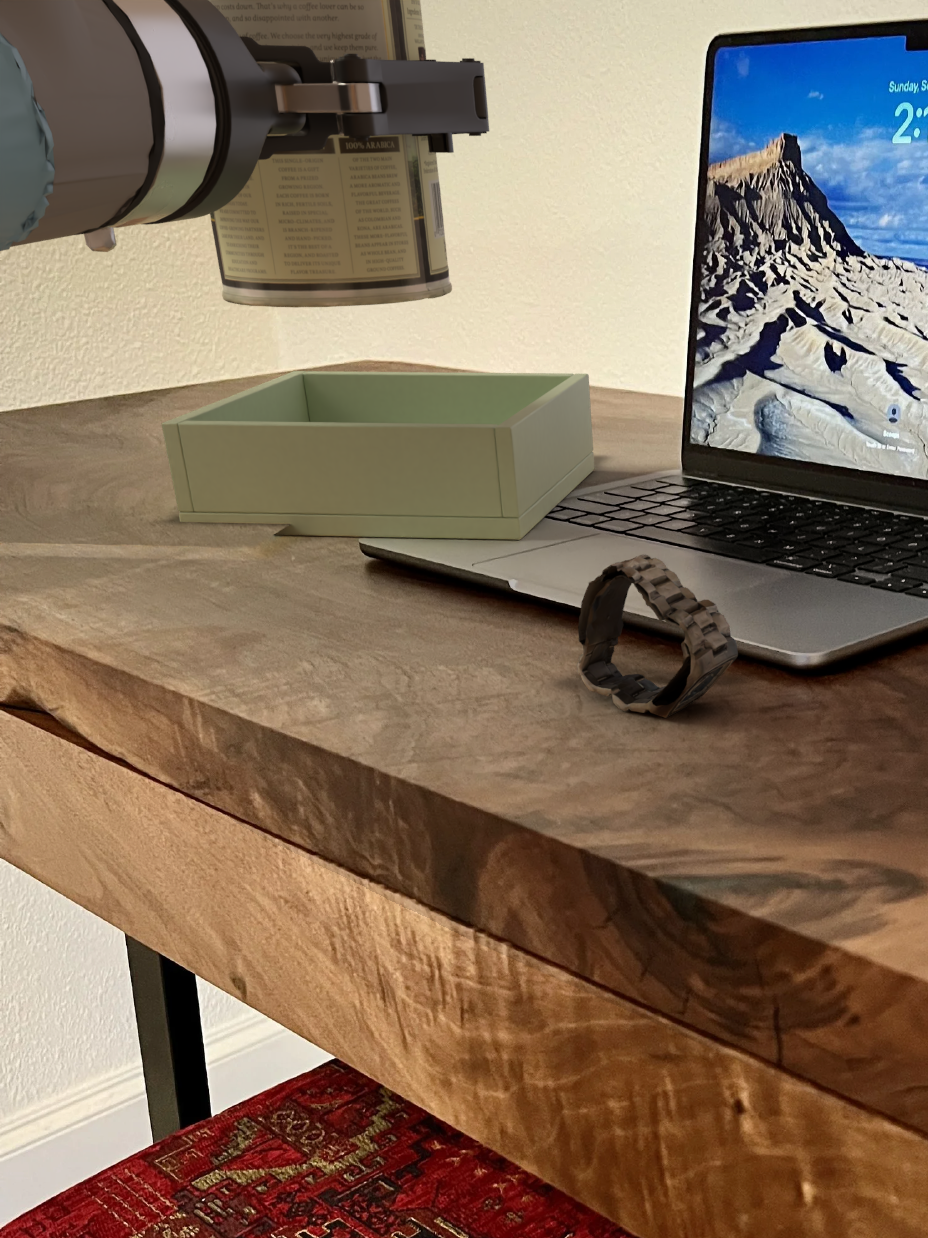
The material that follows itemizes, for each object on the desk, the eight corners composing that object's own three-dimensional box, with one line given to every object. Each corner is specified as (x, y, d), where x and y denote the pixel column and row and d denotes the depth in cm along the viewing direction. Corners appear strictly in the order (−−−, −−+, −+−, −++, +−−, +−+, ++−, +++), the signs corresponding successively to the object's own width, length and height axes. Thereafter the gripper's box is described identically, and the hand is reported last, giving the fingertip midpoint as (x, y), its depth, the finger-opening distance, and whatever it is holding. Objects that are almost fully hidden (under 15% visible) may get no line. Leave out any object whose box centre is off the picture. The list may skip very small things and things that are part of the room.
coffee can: (193, 293, 74) (128, -77, 67) (405, 280, 79) (366, -67, 72) (258, 314, 67) (193, -101, 59) (489, 298, 71) (454, -88, 64)
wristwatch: (628, 756, 54) (711, 663, 51) (543, 634, 54) (620, 534, 51) (684, 740, 56) (767, 649, 53) (602, 623, 57) (680, 526, 53)
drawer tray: (181, 533, 76) (160, 423, 74) (307, 465, 91) (293, 370, 88) (521, 540, 75) (511, 427, 72) (595, 469, 89) (588, 373, 87)
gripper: (-167, 225, 56) (126, 193, 75) (456, 226, 54) (597, 192, 73) (-237, -30, 53) (90, 4, 72) (430, -41, 50) (585, -3, 69)
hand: (346, 99), depth 72 cm, fingers closed on coffee can, 10 cm apart
